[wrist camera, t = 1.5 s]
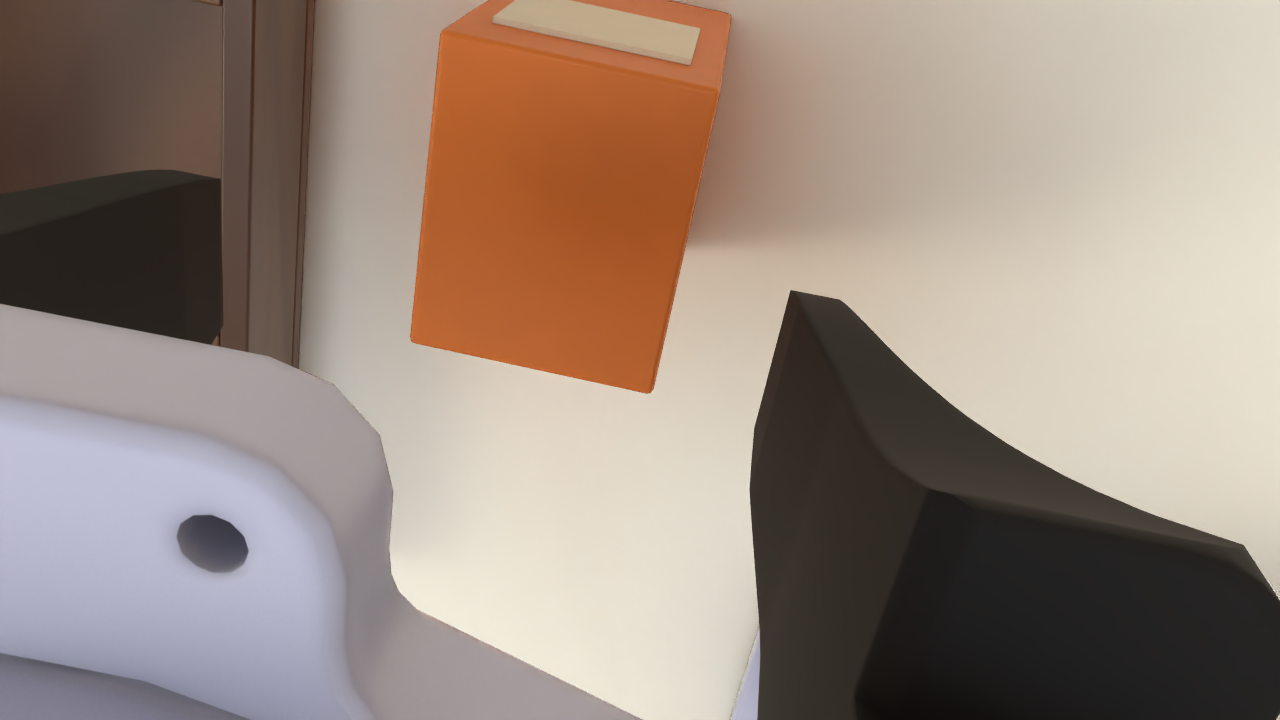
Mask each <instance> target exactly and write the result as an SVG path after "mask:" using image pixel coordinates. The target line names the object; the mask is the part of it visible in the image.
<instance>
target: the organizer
mask: <svg viewBox="0 0 1280 720" xmlns="http://www.w3.org/2000/svg"><path fill="white" fill-rule="evenodd" d="M314 3H315V0H0V194H1V193H7V192H14V191H20V190H26V189H32V188H38V187H43V186H49V185H55V184H60V183H66V182H71V181H77V180H83V179H88V178H94V177H100V176H106V175H112V174H119V173H126V172H134V171H143V170H156V169H165V170H178V171H183V172H188V173H193V174H198V175H203V176H208V177H213V178H219V179H221V215H222V270H223V327H222V328H221V330H220V331H219V333H218V335H217V336H216V338H215V340H214V341H213V343H212V345H214V346H219V347H224V348H229V349H234V350H239V351H244V352H249V353H254V354H260V355H265V356H269V357H271V358H274V359H276V360H278V361H280V362H283V363H285V364H287V365H290V366H292V367H294V368H297V369H298V356H299V334H300V312H301V290H302V268H303V246H304V224H305V202H306V180H307V158H308V136H309V114H310V91H311V69H312V47H313V25H314Z"/></svg>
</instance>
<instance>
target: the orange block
mask: <svg viewBox="0 0 1280 720" xmlns="http://www.w3.org/2000/svg"><path fill="white" fill-rule="evenodd" d="M730 24H731V15H729V14H728V13H724V12H719V11H715V10H710V9H705V8H701V7H696V6H691V5H687V4H682V3H677V2H673V1H668V0H487V1H486V2H484V3H483V4H481V5H480V6H478V7H477V8H475V9H474V10H472V11H471V12H469V13H468V14H466V15H465V16H463V17H462V18H460V19H459V20H457V21H456V22H454V23H453V24H451V25H450V26H448V27H447V28H445V29H444V30H443V31H442V33H441V34H440V43H439V53H438V63H437V73H436V83H435V93H434V103H433V113H432V123H431V133H430V143H429V153H428V163H427V173H426V183H425V193H424V203H423V213H422V223H421V233H420V243H419V253H418V263H417V273H416V283H415V293H414V303H413V314H412V324H411V334H410V337H411V341H412V342H414V343H416V344H421V345H426V346H430V347H435V348H440V349H444V350H449V351H453V352H458V353H463V354H467V355H472V356H476V357H481V358H486V359H490V360H495V361H499V362H504V363H509V364H513V365H518V366H522V367H527V368H532V369H536V370H541V371H545V372H550V373H555V374H559V375H564V376H569V377H573V378H578V379H582V380H587V381H592V382H596V383H601V384H605V385H610V386H615V387H619V388H624V389H628V390H633V391H638V392H642V393H651V392H652V390H653V389H654V385H655V380H656V376H657V372H658V367H659V363H660V358H661V354H662V349H663V345H664V340H665V336H666V331H667V327H668V323H669V318H670V314H671V309H672V305H673V300H674V296H675V291H676V287H677V283H678V278H679V274H680V269H681V265H682V260H683V256H684V251H685V247H686V242H687V238H688V234H689V229H690V225H691V220H692V216H693V211H694V207H695V202H696V198H697V193H698V189H699V185H700V180H701V176H702V171H703V167H704V162H705V158H706V153H707V149H708V144H709V140H710V136H711V131H712V127H713V122H714V118H715V113H716V109H717V104H718V100H719V95H720V89H721V83H722V76H723V70H724V63H725V57H726V50H727V44H728V37H729V31H730Z"/></svg>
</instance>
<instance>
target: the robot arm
mask: <svg viewBox="0 0 1280 720" xmlns="http://www.w3.org/2000/svg"><path fill="white" fill-rule="evenodd" d="M222 327H223V270H222V215H221V179H219V178H213V177H208V176H203V175H198V174H193V173H188V172H183V171H178V170H165V169H156V170H143V171H134V172H126V173H119V174H112V175H106V176H100V177H94V178H88V179H83V180H77V181H71V182H66V183H60V184H55V185H49V186H43V187H38V188H32V189H26V190H20V191H14V192H7V193H1V194H0V720H642V719H640V718H638V717H636V716H634V715H632V714H630V713H628V712H626V711H624V710H622V709H620V708H618V707H616V706H614V705H612V704H609V703H607V702H605V701H603V700H601V699H599V698H597V697H595V696H593V695H591V694H589V693H587V692H585V691H583V690H581V689H579V688H577V687H575V686H573V685H571V684H569V683H566V682H564V681H562V680H560V679H558V678H556V677H554V676H552V675H550V674H548V673H546V672H544V671H542V670H540V669H538V668H536V667H534V666H532V665H530V664H528V663H526V662H524V661H521V660H519V659H517V658H515V657H513V656H511V655H509V654H507V653H505V652H503V651H501V650H499V649H497V648H495V647H493V646H491V645H489V644H487V643H485V642H483V641H481V640H478V639H476V638H474V637H472V636H470V635H468V634H466V633H464V632H462V631H460V630H458V629H456V628H454V627H452V626H450V625H448V624H446V623H444V622H442V621H440V620H438V619H436V618H433V617H431V616H429V615H427V614H425V613H423V612H421V611H419V610H418V609H416V608H415V607H414V606H413V605H412V604H411V603H410V602H409V601H408V600H407V599H406V598H405V597H404V596H403V595H402V594H401V593H400V592H399V590H398V589H397V586H396V584H395V582H394V579H393V577H392V575H391V564H390V553H389V544H390V530H391V517H392V503H393V488H392V484H391V480H390V476H389V471H388V467H387V463H386V459H385V454H384V450H383V446H382V442H381V438H380V435H379V434H378V432H377V431H376V430H375V429H374V428H373V427H372V426H371V425H370V424H369V423H368V421H367V420H366V419H365V418H364V417H363V416H362V415H361V414H360V413H359V412H358V410H357V409H356V408H355V407H354V406H353V405H352V404H351V403H350V402H349V401H348V399H347V398H346V397H345V396H344V395H343V394H342V393H341V392H340V391H339V389H338V388H337V387H336V386H335V385H334V384H331V383H329V382H327V381H324V380H322V379H320V378H318V377H315V376H313V375H311V374H308V373H306V372H304V371H301V370H299V369H297V368H294V367H292V366H290V365H287V364H285V363H283V362H280V361H278V360H276V359H274V358H271V357H269V356H265V355H260V354H254V353H249V352H244V351H239V350H234V349H229V348H224V347H219V346H214V345H212V343H213V341H214V340H215V338H216V336H217V335H218V333H219V331H220V330H221V328H222ZM750 504H751V519H752V533H753V546H754V559H755V572H756V585H757V599H758V612H759V628H758V632H757V635H756V638H755V641H754V644H753V648H752V651H751V654H750V657H749V660H748V663H747V667H746V670H745V673H744V676H743V679H742V682H741V686H740V689H739V692H738V695H737V698H736V701H735V705H734V708H733V711H732V714H731V717H730V720H1276V718H1277V717H1278V715H1279V714H1280V600H1279V599H1278V597H1277V596H1276V594H1275V593H1274V591H1273V590H1272V588H1271V587H1270V585H1269V583H1268V582H1267V580H1266V579H1265V577H1264V576H1263V574H1262V573H1261V571H1260V570H1259V568H1258V567H1257V565H1256V563H1255V562H1254V560H1253V559H1252V557H1251V556H1250V554H1249V553H1248V551H1247V550H1246V548H1245V547H1244V545H1242V544H1239V543H1236V542H1233V541H1230V540H1227V539H1224V538H1221V537H1218V536H1215V535H1212V534H1209V533H1206V532H1203V531H1200V530H1197V529H1194V528H1191V527H1188V526H1185V525H1182V524H1179V523H1176V522H1173V521H1170V520H1167V519H1164V518H1161V517H1158V516H1155V515H1152V514H1150V513H1147V512H1145V511H1142V510H1140V509H1137V508H1135V507H1133V506H1130V505H1128V504H1125V503H1123V502H1121V501H1118V500H1116V499H1114V498H1111V497H1109V496H1107V495H1104V494H1102V493H1099V492H1097V491H1095V490H1093V489H1091V488H1089V487H1087V486H1084V485H1082V484H1080V483H1078V482H1076V481H1074V480H1072V479H1070V478H1068V477H1066V476H1064V475H1062V474H1060V473H1058V472H1056V471H1055V470H1053V469H1051V468H1049V467H1047V466H1045V465H1044V464H1042V463H1040V462H1038V461H1036V460H1034V459H1033V458H1031V457H1029V456H1027V455H1025V454H1023V453H1022V452H1020V451H1019V450H1017V449H1015V448H1014V447H1012V446H1010V445H1009V444H1007V443H1005V442H1004V441H1002V440H1001V439H999V438H998V437H996V436H995V435H993V434H992V433H990V432H989V431H988V430H986V429H985V428H983V427H982V426H980V425H979V424H977V423H976V422H974V421H973V420H971V419H970V418H969V417H967V416H966V415H965V414H963V413H962V412H961V411H959V410H958V409H957V408H955V407H954V406H953V405H951V404H950V403H949V402H948V401H947V400H945V399H944V398H943V397H942V396H941V395H940V394H938V393H937V392H936V391H935V390H934V389H933V388H931V387H930V386H929V385H928V384H927V383H925V382H924V381H923V380H922V379H921V378H920V377H919V376H918V375H917V374H915V373H914V372H913V371H912V370H911V369H910V368H909V367H908V366H907V365H906V364H905V363H904V362H903V361H902V360H901V359H900V358H899V357H898V356H897V355H896V354H895V353H894V352H893V351H892V350H891V349H890V348H889V347H888V346H887V345H886V344H885V343H884V342H883V341H882V340H881V339H880V338H879V337H878V336H877V335H876V334H875V333H874V332H873V331H872V330H871V329H870V328H869V327H868V326H867V325H866V324H865V323H864V322H863V321H862V320H861V319H860V318H859V317H858V316H857V315H856V314H855V313H854V312H853V311H852V310H851V309H850V308H849V307H848V306H847V305H846V304H845V303H843V302H842V301H841V300H839V299H834V298H829V297H823V296H818V295H813V294H808V293H803V292H798V291H793V290H791V291H790V294H789V298H788V302H787V306H786V310H785V314H784V317H783V321H782V325H781V329H780V333H779V336H778V340H777V344H776V348H775V352H774V356H773V359H772V363H771V367H770V371H769V375H768V378H767V382H766V386H765V390H764V394H763V398H762V401H761V405H760V409H759V413H758V417H757V420H756V424H755V428H754V439H753V451H752V463H751V477H750Z"/></svg>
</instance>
